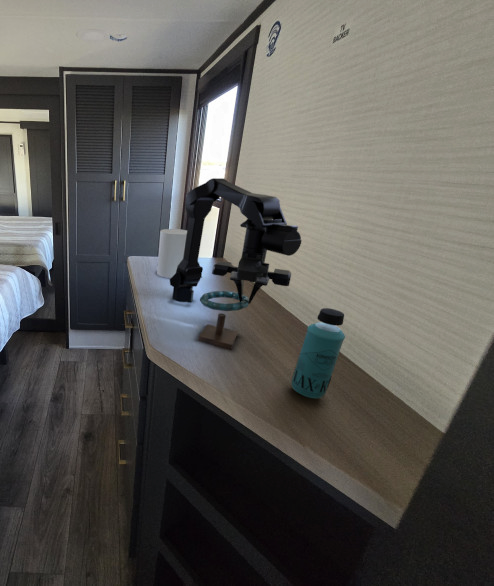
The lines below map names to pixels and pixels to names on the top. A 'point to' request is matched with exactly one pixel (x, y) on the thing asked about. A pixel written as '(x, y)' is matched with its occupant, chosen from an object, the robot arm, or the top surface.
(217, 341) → the peg stand
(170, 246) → the canister
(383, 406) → the top surface
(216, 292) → the teal ring
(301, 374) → the beverage bottle
